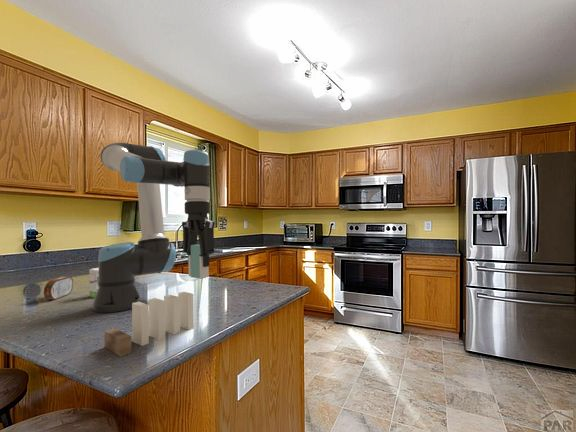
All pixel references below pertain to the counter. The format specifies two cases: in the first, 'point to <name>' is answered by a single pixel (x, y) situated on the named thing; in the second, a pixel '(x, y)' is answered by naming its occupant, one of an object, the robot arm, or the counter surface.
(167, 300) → the ivory domino
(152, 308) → the ivory domino
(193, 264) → the teal domino
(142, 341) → the ivory domino
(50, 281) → the tin
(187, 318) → the ivory domino
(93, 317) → the counter surface
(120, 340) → the walnut block
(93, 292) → the ink box
